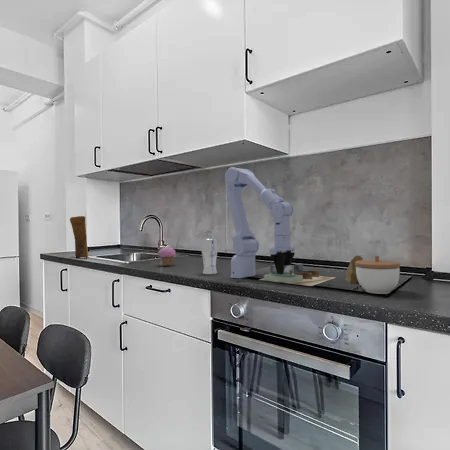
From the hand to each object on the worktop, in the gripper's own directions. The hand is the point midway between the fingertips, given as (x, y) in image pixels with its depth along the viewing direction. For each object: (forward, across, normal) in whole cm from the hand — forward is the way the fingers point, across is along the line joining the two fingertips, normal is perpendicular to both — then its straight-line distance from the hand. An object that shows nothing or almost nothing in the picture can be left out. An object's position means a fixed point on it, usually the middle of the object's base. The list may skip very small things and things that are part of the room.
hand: (283, 272), depth 122 cm
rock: (+4, +11, -20) cm, 24 cm away
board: (+4, +5, -3) cm, 7 cm away
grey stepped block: (+2, +10, -3) cm, 10 cm away
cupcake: (+4, +7, +74) cm, 74 cm away
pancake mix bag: (+3, +2, +158) cm, 158 cm away
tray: (+4, 0, 0) cm, 4 cm away
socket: (+4, +10, -5) cm, 12 cm away
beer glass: (+4, +1, +38) cm, 38 cm away
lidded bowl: (+4, +3, -32) cm, 32 cm away
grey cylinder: (+1, 0, +1) cm, 1 cm away
